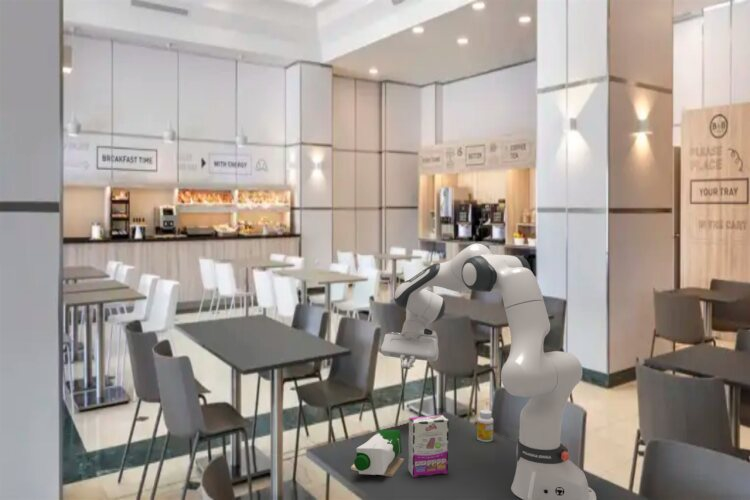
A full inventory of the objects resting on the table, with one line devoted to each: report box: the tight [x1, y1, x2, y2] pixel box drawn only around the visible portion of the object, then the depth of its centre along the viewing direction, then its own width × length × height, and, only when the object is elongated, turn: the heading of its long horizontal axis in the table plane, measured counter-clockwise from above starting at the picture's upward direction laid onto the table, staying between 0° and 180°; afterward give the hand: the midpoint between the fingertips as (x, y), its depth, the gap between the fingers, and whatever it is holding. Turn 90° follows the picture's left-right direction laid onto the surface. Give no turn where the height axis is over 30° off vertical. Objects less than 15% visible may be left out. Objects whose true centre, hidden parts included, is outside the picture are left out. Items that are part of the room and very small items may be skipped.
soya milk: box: [353, 429, 403, 476], centre depth 181 cm, size 9×9×20 cm
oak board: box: [350, 456, 405, 478], centre depth 183 cm, size 13×12×1 cm
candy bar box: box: [407, 414, 450, 478], centre depth 178 cm, size 11×5×16 cm, turn 105°
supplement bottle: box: [476, 409, 494, 443], centre depth 206 cm, size 5×5×10 cm
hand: (405, 368), depth 207 cm, fingers closed
